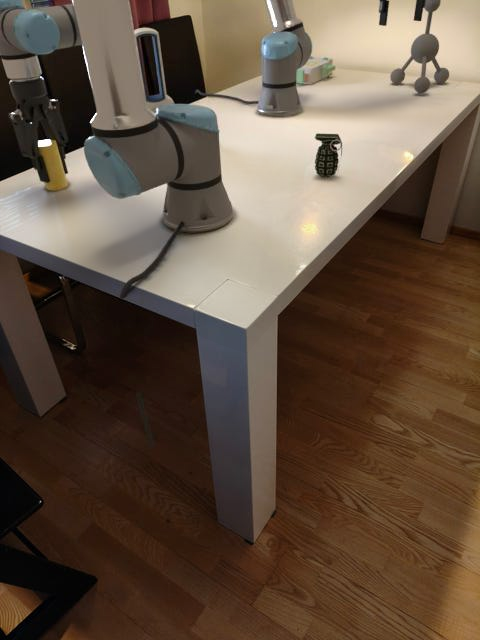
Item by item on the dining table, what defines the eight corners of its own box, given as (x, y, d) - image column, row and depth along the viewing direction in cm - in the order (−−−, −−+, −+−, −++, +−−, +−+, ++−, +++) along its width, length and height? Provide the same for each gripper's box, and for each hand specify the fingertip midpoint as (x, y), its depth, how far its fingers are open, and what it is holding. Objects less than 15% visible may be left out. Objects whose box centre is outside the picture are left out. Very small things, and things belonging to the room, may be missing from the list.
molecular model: (468, 88, 182) (489, -8, 163) (419, 97, 176) (435, -2, 158) (427, 77, 199) (442, -12, 181) (381, 84, 193) (392, -7, 175)
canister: (72, 183, 127) (60, 140, 120) (57, 191, 123) (44, 147, 116) (56, 181, 129) (44, 138, 122) (41, 188, 125) (28, 145, 118)
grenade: (312, 179, 121) (313, 138, 114) (314, 171, 125) (316, 131, 119) (338, 181, 119) (342, 139, 113) (340, 172, 124) (344, 132, 117)
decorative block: (301, 54, 217) (341, 57, 207) (300, 70, 221) (340, 74, 211) (269, 65, 201) (312, 69, 191) (269, 82, 205) (311, 87, 195)
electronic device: (141, 147, 146) (122, 33, 128) (139, 140, 152) (119, 29, 134) (182, 142, 149) (168, 28, 130) (178, 135, 154) (164, 25, 136)
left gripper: (45, 68, 118) (70, 162, 132) (-20, 86, 105) (15, 188, 120) (67, 70, 115) (90, 166, 129) (3, 88, 102) (36, 193, 117)
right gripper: (384, -61, 133) (375, 28, 146) (454, -66, 141) (439, 19, 154) (367, -61, 139) (360, 26, 152) (436, -65, 146) (423, 17, 159)
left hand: (54, 176), depth 124 cm, fingers closed on canister, 5 cm apart
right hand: (400, 23), depth 153 cm, fingers open, 13 cm apart
